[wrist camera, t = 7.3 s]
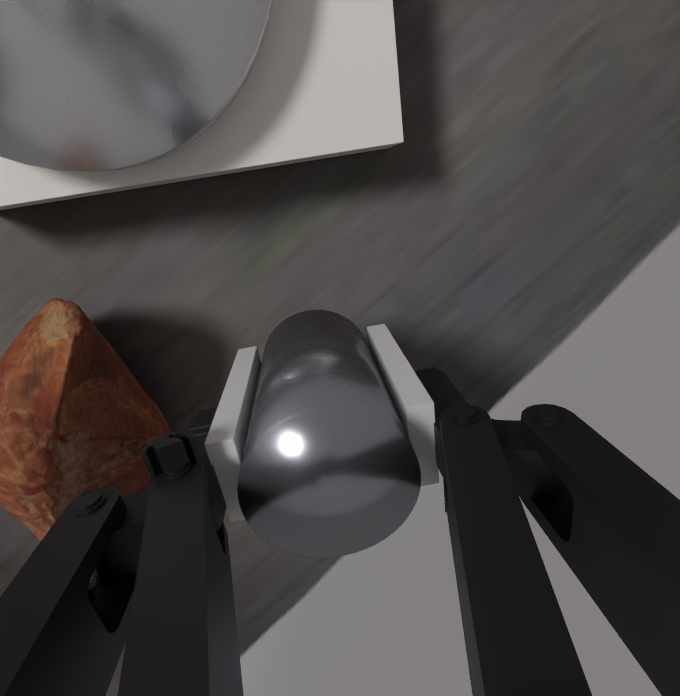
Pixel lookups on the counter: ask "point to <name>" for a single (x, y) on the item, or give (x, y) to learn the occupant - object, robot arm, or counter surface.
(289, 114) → the scale
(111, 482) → the brown lumpy chunk
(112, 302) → the counter surface
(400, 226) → the counter surface
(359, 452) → the metal cylinder
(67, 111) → the pan
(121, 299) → the counter surface
